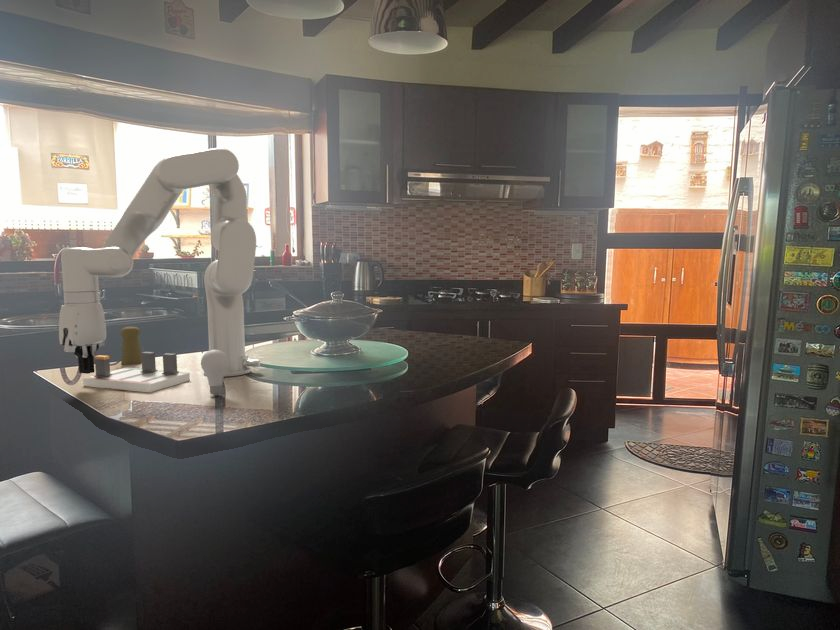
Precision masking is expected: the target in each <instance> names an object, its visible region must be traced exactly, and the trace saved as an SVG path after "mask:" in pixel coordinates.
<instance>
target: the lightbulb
mask: <svg viewBox="0 0 840 630" xmlns="http://www.w3.org/2000/svg"><path fill="white" fill-rule="evenodd" d="M200 365H201V369H202V370H203V373H204V372H205V374H206V375H205V374H204V375H205V376H206V377H207V378H206V379H207V383H208V385H209V392H210V394H211V395H213V396H214V397H217V396H219V395H220V394H221V393H223V392H222V388H223V387H222V386H223V381H224V377H223V376H224V373H225V371H226V369H227V367H228V357H227V356H226V354H225V353H224V352H222V351H220V350H210V351H209V350H208V351H206V352H205V353H204V354H203V355H202V356H201V360H200Z"/></svg>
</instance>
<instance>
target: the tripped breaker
mask: <svg viewBox="0 0 840 630" xmlns="http://www.w3.org/2000/svg"><path fill="white" fill-rule="evenodd" d="M93 357H94V369H95V374H94V375H95V376H94V375H93V376H94V377H100V378H102V377H106V376H110V375H112V374H110V372H111V364H110V355H100V354H99V355H95V356H93Z"/></svg>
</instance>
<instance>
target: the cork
mask: <svg viewBox="0 0 840 630" xmlns="http://www.w3.org/2000/svg"><path fill="white" fill-rule="evenodd" d="M120 335H121V337H122V351H121V359H120V360H121V363H120V364H121V365H124V366H125V365H126V366H128V365H133V366H134V365H138V364H142V359H141V353H142V348H141V343H140V340H139V337H140V335H141V330H140V327H137V326H126V327H123V328H122V329H121V331H120Z"/></svg>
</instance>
